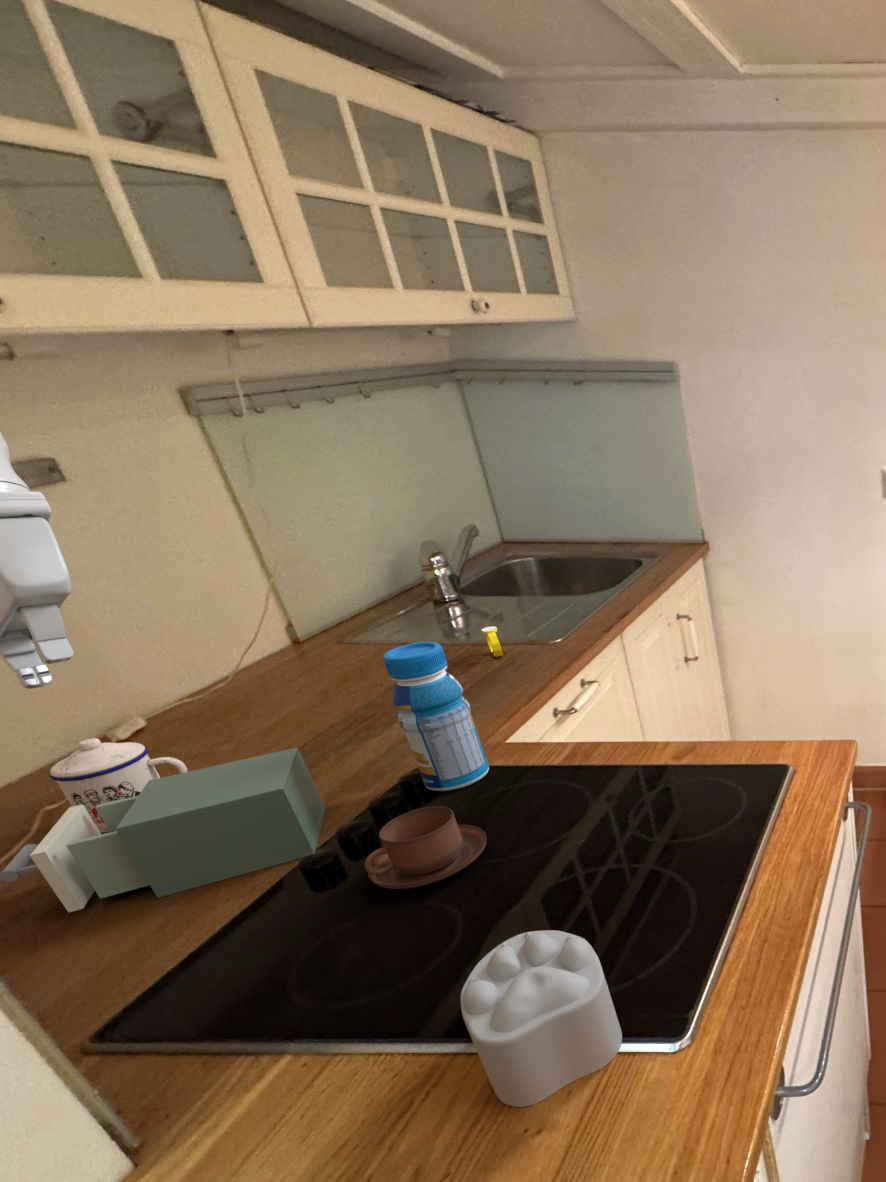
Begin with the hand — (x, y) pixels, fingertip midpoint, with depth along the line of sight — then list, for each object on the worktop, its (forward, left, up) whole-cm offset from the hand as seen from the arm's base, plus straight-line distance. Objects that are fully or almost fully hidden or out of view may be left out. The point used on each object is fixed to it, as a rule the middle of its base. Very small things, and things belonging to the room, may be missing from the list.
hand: (49, 673), depth 71 cm
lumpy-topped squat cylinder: (+31, -38, -30) cm, 58 cm away
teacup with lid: (-12, +36, -30) cm, 48 cm away
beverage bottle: (+25, +21, -30) cm, 44 cm away
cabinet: (+2, +16, -30) cm, 34 cm away
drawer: (-8, +16, -29) cm, 34 cm away
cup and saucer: (+22, -2, -30) cm, 37 cm away
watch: (+33, +75, -30) cm, 87 cm away
